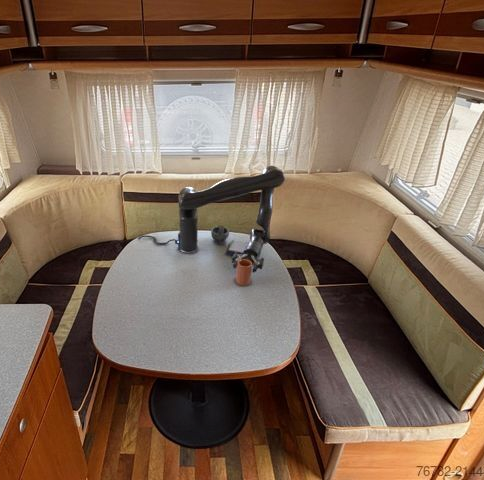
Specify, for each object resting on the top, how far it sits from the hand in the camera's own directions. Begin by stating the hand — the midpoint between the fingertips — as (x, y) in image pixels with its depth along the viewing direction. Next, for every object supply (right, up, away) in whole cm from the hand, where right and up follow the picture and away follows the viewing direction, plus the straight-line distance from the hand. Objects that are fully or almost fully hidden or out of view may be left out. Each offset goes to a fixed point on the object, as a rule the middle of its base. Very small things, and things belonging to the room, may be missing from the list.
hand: (244, 268), depth 158 cm
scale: (+2, +7, +27) cm, 28 cm away
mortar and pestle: (-8, +11, +36) cm, 38 cm away
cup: (0, -6, +5) cm, 8 cm away
